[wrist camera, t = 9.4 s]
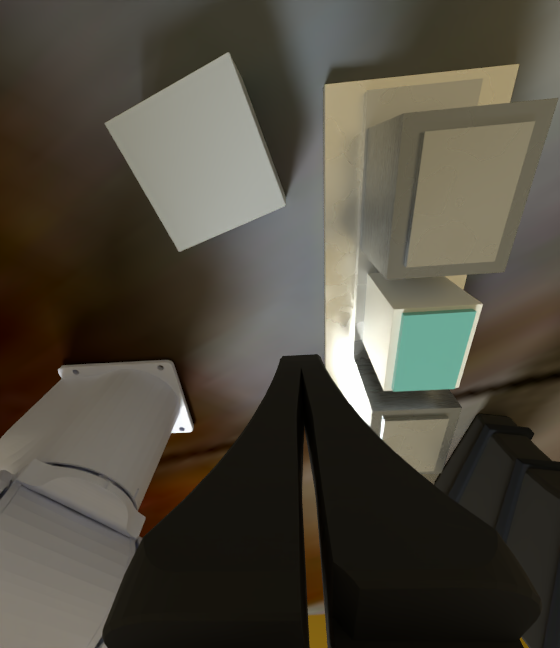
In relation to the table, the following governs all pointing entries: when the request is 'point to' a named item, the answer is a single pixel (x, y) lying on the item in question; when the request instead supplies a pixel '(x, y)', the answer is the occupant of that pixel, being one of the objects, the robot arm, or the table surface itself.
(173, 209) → the block
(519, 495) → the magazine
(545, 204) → the table surface
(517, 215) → the rail panel
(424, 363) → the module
